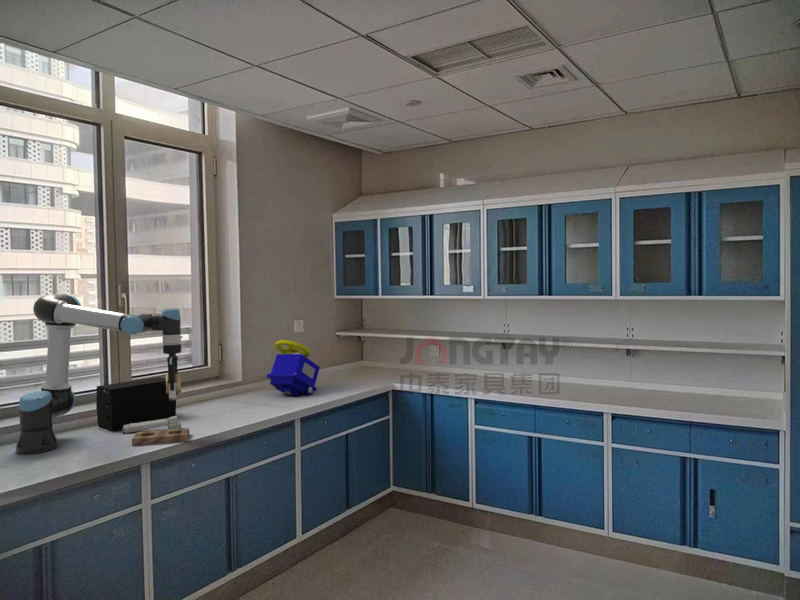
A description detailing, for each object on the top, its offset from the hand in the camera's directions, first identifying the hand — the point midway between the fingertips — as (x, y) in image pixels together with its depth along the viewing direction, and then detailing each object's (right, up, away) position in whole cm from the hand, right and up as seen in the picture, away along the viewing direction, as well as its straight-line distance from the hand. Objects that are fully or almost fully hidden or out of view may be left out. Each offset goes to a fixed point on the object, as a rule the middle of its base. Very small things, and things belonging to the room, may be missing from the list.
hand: (173, 396), depth 260 cm
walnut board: (-5, -19, -1) cm, 20 cm away
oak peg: (0, -1, 0) cm, 1 cm away
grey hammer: (-16, -19, +16) cm, 30 cm away
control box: (+34, -15, +102) cm, 109 cm away
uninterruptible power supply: (-30, -19, +31) cm, 48 cm away
